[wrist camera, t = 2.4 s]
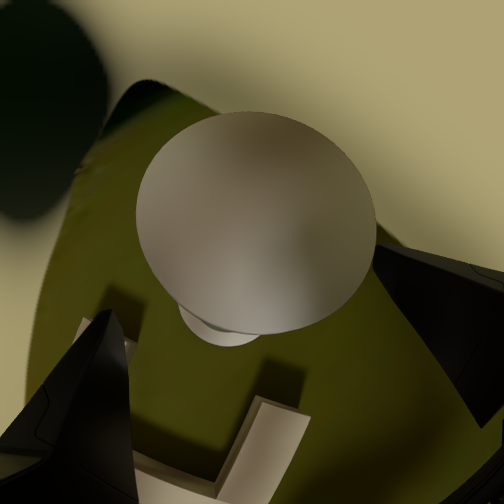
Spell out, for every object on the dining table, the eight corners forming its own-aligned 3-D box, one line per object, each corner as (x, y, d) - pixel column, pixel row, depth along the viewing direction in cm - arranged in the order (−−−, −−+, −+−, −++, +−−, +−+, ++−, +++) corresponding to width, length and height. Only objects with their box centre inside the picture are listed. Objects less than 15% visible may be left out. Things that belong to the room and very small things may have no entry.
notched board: (298, 408, 17) (311, 417, 14) (235, 531, 13) (239, 550, 11) (98, 321, 17) (83, 317, 14) (52, 450, 13) (36, 460, 11)
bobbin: (286, 275, 19) (399, 164, 7) (252, 360, 17) (346, 389, 5) (203, 239, 19) (203, 80, 7) (164, 321, 17) (73, 268, 5)
